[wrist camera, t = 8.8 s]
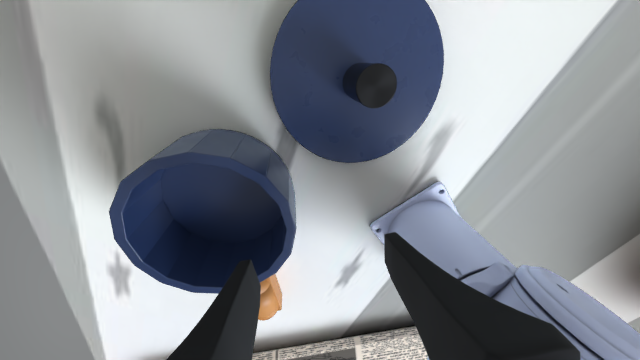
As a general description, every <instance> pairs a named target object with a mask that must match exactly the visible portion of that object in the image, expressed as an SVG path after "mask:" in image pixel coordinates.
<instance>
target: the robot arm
mask: <svg viewBox="0 0 640 360" xmlns="http://www.w3.org/2000/svg"><path fill="white" fill-rule="evenodd" d="M440 190H441V191H440ZM439 191H440V192H439ZM370 227H371V229H372V231H373V232H374V233H375V235H376V236H377V237H378V238H379V240H380V241H381V242H382V243H383V245H384V246H385V263H386V266H387V269H388V271H389V274H390V277H391V279H392V281H393V283H394V285H395V287H396V289H397V291H398V293H399V295H400V297H401V299H402V301H403V302H404V304H405V306H406V308H407V310H408V312H409V314H410V316H411V318H412V320H413V322H414V324H415V326H416V328H417V330H418V333H419V335H420V338H421V340H422V342H423V345H424V347H425V350H426V352H427V355H428V358H427V360H640V334H639V333H638V332H637V331H636V330H635V329H633V328H632V327H631V326H630V325H628V324H627V323H626V322H625V321H623V320H622V319H621V318H620V317H618V316H617V315H616V314H614V313H613V312H612V311H610V310H609V309H608V308H606V307H605V306H604V305H602V304H601V303H600V302H598V301H597V300H595V299H594V298H593V297H591V296H590V295H588V294H587V293H585V292H584V291H583V290H581V289H580V288H578V287H577V286H575V285H574V284H572V283H570V282H569V281H567V280H566V279H564V278H562V277H561V276H559V275H557V274H555V273H554V272H552V271H550V270H548V269H545V268H543V267H534V266H528V265H522V266H520V267H519V268H518V269H517V268H516V267H515V266H514V265H513V264H512V263H511V262H510V261H509V260H508V259H506V258H505V257H504V256H503V255H502V254H501V253H500V252H499V251H498V250H497V249H495V248H494V247H493V246H492V245H491V244H490V243H489V242H488V241H487V240H486V239H484V238H483V237H482V236H481V235H480V234H479V233H478V232H477V231H476V230H475V229H473V228H472V227H471V226H470V225H469V224H468V223H467V222H466V221H465V220H463V219H462V218H461V217H460V215H459V213H458V211H457V209H456V207H455V205H454V203H453V201H452V199H451V197H450V196H449V194H448V192H447V190H446V188H445V186H444V184H442V183H441V182H436V183H435V184H433V185H431V186H430V187H428V188H427V189H425V190H423V191H422V192H420V193H419V194H417V195H415V196H414V197H412V198H411V199H409V200H407V201H406V202H404V203H403V204H401V205H399V206H398V207H396V208H395V209H393V210H391V211H390V212H388V213H387V214H385V215H383V216H382V217H380V218H379V219H377V220H375V221H374V222H372V223H371V225H370ZM377 229H379V230H377ZM260 295H261V285H260V282H259V279H258V277H257V274H256V271H255V269H254V266H253V263H252V261H251V259H249V260H244V261H239V263H238V264H237V266H236V267H235V269H234V271H233V272H232V274H231V275H230V277H229V279H228V280H227V282H226V283H225V285H224V287H223V288H222V290H221V291H220V293H219V294H218V296H217V297H216V299H215V300H214V302H213V303H212V305H211V306H210V307H209V309H208V310H207V312H206V313H205V314H204V316H203V317H202V318H201V320H200V321H199V322H198V324H197V325H196V326H195V327H194V329H193V330H192V331H191V332H190V334H189V335H188V336H187V337H186V338H185V340H184V341H183V342H182V343H181V344H180V345H179V346H178V347H177V349H176V350H175V351H174V352H173V353H172V354H171V355H170V356H169V357H168V358H167V360H252V355H253V348H254V341H255V335H256V329H257V322H258V316H259V309H260Z"/></svg>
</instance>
